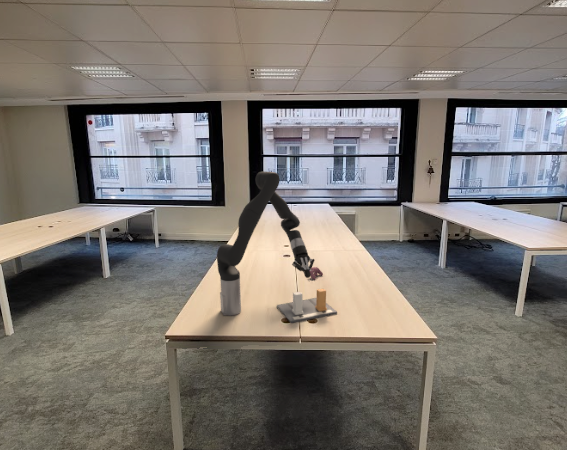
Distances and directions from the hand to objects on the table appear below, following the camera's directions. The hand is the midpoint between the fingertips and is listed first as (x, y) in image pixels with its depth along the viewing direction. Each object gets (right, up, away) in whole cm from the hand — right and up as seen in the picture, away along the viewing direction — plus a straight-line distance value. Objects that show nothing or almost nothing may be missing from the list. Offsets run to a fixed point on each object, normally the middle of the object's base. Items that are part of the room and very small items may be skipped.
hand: (308, 277), depth 168 cm
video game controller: (+7, -6, +36) cm, 38 cm away
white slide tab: (-6, -15, -14) cm, 21 cm away
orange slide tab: (+5, -14, -10) cm, 18 cm away
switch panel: (-2, -15, -8) cm, 17 cm away
